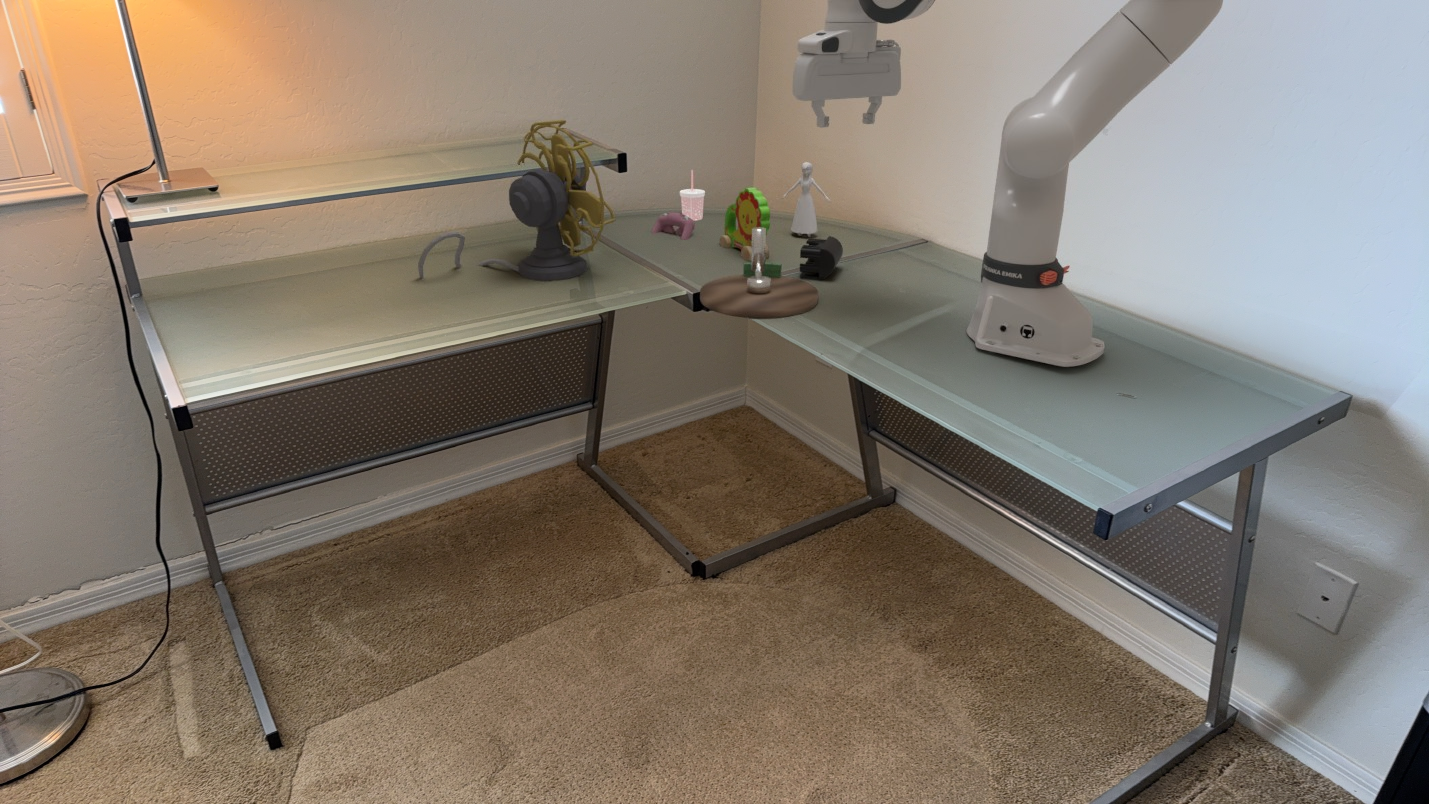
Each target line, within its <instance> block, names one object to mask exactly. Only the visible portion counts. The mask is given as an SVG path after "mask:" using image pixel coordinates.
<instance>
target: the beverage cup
mask: <svg viewBox="0 0 1429 804" xmlns="http://www.w3.org/2000/svg"><path fill="white" fill-rule="evenodd" d="M690 176H691V177H690V184H691V185H690V187H691V188H687V189H681V190H680V191H679V196H680V201H681V214H684V215H686V216H687V217H689V218H691V219H692V220H693V221H694V222H695V221H701V220H702V219H703V217H704V216H703V215H704V201H705V195H706V191H705V190H703V189H699V188H694V169H690Z"/></svg>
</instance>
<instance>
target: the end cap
mask: <svg viewBox="0 0 1429 804" xmlns="http://www.w3.org/2000/svg"><path fill="white" fill-rule="evenodd" d="M805 243H806V244H804V245H802V246H801V247H800V252H799V253H800V255H799V258H801V259H807V260H806V261H805V263H800V264H799V272H800V274H799V278H800V280H814V281H822V280H824V279H825V278H827V277H828V276H830V275H831V274H832V273H833V272H834V270H835V268H836V267H837V266H838V263H839V262H840V261H841V259H842V257H843V253H844V250H843V249H844V248H843V245H842V243H841V242H840V240H839V239H838V238H836V237H834V236H830V235H828V237H827V238H826V239H824V238H823V239H821V238H811V237H808V238H807V240H806V241H805Z"/></svg>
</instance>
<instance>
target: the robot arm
mask: <svg viewBox="0 0 1429 804" xmlns="http://www.w3.org/2000/svg"><path fill="white" fill-rule="evenodd" d="M935 1H936V0H827V11H826V15H825V19H824V29H821V30H818V31H816V32H814V33H812V34H809V35H806V36H804V37H802V38H800V39H798V41H797V51H798V52H799V53H801V54H799V55H798V56H797V57H796V60H795V62H794V67H793V74H792V89H791V90H792V95H793V96H794V98H795V99H796V100H797V101H802V102H810V101H811V103H810V104H811V109H812V111H813V112H814V115H815V116H816V127H818V128H828V127H829V125H830V116H827V115H825V113H824V110H823V107H825V101H828V100H829V101H830V100H845V99H861V98H863V99H865V98H868V103H869V104H870V105H869V106H868V108H867V111H866V112H862V120H861V121H862V124H863V125H874V124H875V123H876V122H875V121H876V114H877V112H878V110H879V108H880V107H881V105H882V102H883V97H895V96H898V94H899V92H900V91H901V87H902V72H901V71H902V67H901V54H902V53H901V52H902V49H901V46H900V45H899V43H898V42H896V41H895V40H893V39H878V37H877V35H878V24H884V25H887V24H888V25H889V24H895V23H898V22H900V21H905V20H910V19H915V18H917V17H919V16H921V15H923V14H925V12H927V11H928V10H929V9H930V8H931V7H932V6H933V4H934V3H935ZM1223 3H1224V0H1129V1H1128V2H1127V3H1126V4H1124V6H1122V7H1121V8H1120V9H1119V11H1117V12H1116V13H1115V14H1114V15H1113V16H1112V17H1111V18H1110V19H1109V20H1108V21H1106V22H1105V24H1104V25H1103V26H1102V27H1100V29H1098V30H1097V31H1096V32H1095V33H1094V34H1093V35H1092V36H1091V37H1090V38H1089V39H1088V40H1087V41H1085V43H1084V44H1083V45H1081V47H1080V48H1078V49H1077V51H1076V52H1074V54H1072V56H1071V57H1069V59H1068V60H1067V61H1066V62H1065V63H1064V64H1063V65H1062V66H1061V68H1060V69H1058V70H1057V72H1055V73H1054V75H1053V76H1052V77H1051V78H1050V79H1049V80H1048V81H1047V82H1046V83H1045V84H1044V85H1043V86H1042V87H1041V88H1040V89H1039V90H1038V91H1037V93H1035V95H1033V96H1032V97H1029V98H1027V99H1024V100H1022V101H1021V102H1018V104H1016V105H1015V106H1014V107H1013V108H1012V109H1011V111H1010V112H1009V113H1008V115H1007V117H1006V118H1005V121H1004V123H1003V127H1002V131H1001V141H1000V147H999V156H998V163H997V164H998V165H997V170H996V179H995V187H994V194H993V202H992V209H991V216H990V225H989V231H988V240H987V247H986V251H985V252H984V254H983V258H982V264H981V272H980V283H981V285H980V289H979V295H978V298H977V301H976V305H975V308H974V312H973V314H972V316H971V320H970V322H969V324H968V326H967V328H966V334H967V335H968V337H969V338H970V339H971V340H973V341H974V343H975V347H976V348H977V349H979V350H983V351H988V352H992V353H998V354H1002V355H1006V356H1011V357H1014V358H1015V357H1017V358H1020V359H1025V360H1030V361H1034V362H1038V363H1039V362H1040V363H1043V364H1044V363H1045V364H1048V365H1053V366H1058V367H1063V368H1065V367H1066V368H1069V367H1076V366H1077V367H1078V366H1082V365H1085V364H1087V363H1090V362H1092V361H1094V360H1096V359H1098V358H1100V357H1101V356H1102V355H1103V354H1104V352H1105V348H1106V347H1105V346H1106V345H1105V342H1104V341H1103V340H1102V339H1098V338H1096V337H1093V331H1094V330H1093V328H1094V327H1093V325H1094V324H1093V323H1094V321H1093V316H1092V313H1091V311H1090V309H1089V308H1087V306H1085V305H1084V304H1083V303H1082V302H1081V300H1079V299H1078V297H1076V295H1074V293H1073V292H1072V291H1071V290H1070V289H1069V288H1068V287H1067V286H1066V285H1065V284H1064V276H1065V274H1067V273H1069V272H1070V271H1069V268H1070V267H1071V266H1070V265H1066V266H1064V267H1063V266H1062V265H1061V263H1060V262H1059V260H1058V258H1057V252H1058V247H1059V242H1060V234H1061V229H1062V223H1063V216H1064V211H1065V210H1064V208H1065V201H1066V199H1065V198H1066V192H1067V191H1066V190H1067V183H1068V182H1067V181H1068V173H1069V168H1070V162H1072V161H1073V160H1074V159H1075V158H1076V157H1077V156H1078V155H1079V154H1080V153H1081V152H1082V151H1084V149H1085V148H1086V147H1087V146H1088V145H1089V144H1090V143H1091V142H1092V141H1093V140H1094V139H1095V138H1096V137H1097V136H1098V135H1099V134H1100V133H1101V132H1102V131H1103V130H1104V129H1105V128H1106V127H1107V126H1108V125H1109V124H1110V122H1111V121H1112V120H1113V119H1114V118H1115V117H1117V115H1118V114H1119V113H1120V112H1121V111H1122V110H1123V109H1124V107H1126V106H1127V105H1128V104H1129V103H1130V102H1131V101H1132V100H1134V99H1135V97H1137V96H1138V95H1139V94H1140V93H1141V92H1142V91H1143V90H1145V89H1146V88H1147V87H1148V86H1149V85H1150V84H1152V83H1153V81H1155V80H1156V79H1157V78H1158V77H1159V76H1160V75H1162V73H1163V72H1165V71H1166V70H1167V69H1168V68H1169V67H1170V66H1171V65H1172V64H1173V63H1174V62H1175V61H1177V60H1178V59H1179V58H1180V57H1181V56H1182V55H1183V54H1184V53H1185V52H1187V50H1188V49H1189V48H1190V47H1191V46H1192V45H1193V44H1194V42H1196V40H1197V39H1198V38H1199V37H1200V36H1201V35H1202V34H1203V32H1204V31H1205V30H1206V29H1207V28H1208V27H1209V26H1210V24H1211V23H1212V22H1213V21H1214V19H1215V18H1216V17H1217V16H1218V14H1219V13H1220V11H1221V9H1222V7H1223Z"/></svg>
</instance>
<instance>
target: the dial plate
mask: <svg viewBox="0 0 1429 804" xmlns="http://www.w3.org/2000/svg"><path fill="white" fill-rule="evenodd" d="M782 265H783V264H782V263H776V262H765V271H763V272H762V276H766V277H769V278H771V291H769V292H767V293H752V292H749V291H748V290H747V279H748V278H749V277H752V276H755V272H754V271H752V270H751V261H748V262H743V265H742V267H743V271H742V272H743V274H737V275H730V276H723V277H720V278H717V279H713V280H711V281H708V282H707V283H705V284H703V285H702V286H701V287H700V289H699V300H700V304H702V305H703V307H705V308H707V309H708V310H711V311H713V312H714V313H717V314H722V315H725V316H730V317H735V318H736V317H737V318H745V319H778V318H787V317H791V316H796V315H800V314H801V315H802V314H803V313H806V312H808V311H810V310H812V309H814V308H815V307H816V306H817V305H818V302H819V291H818V289H817V288H816V286H814V284H811V283H809V282H808V281H804V280H803V279H798V278H794V277H790V276H785V275H782V267H783V266H782Z"/></svg>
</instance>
